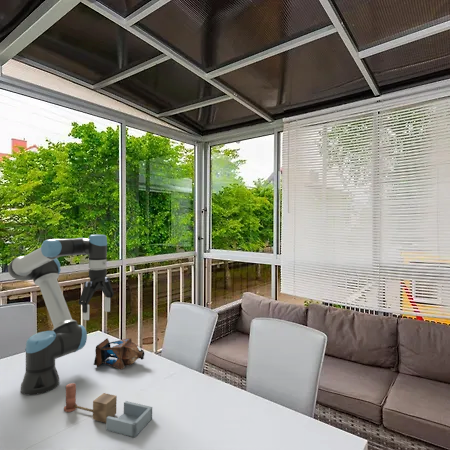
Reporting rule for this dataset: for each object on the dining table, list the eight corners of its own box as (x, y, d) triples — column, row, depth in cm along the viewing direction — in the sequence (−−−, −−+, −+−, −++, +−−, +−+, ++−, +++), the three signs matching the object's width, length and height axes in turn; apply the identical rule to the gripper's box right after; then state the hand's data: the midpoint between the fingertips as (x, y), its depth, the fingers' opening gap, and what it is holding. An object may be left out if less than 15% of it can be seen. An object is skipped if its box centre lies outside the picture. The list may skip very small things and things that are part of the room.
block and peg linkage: (59, 411, 124) (60, 388, 123) (71, 403, 129) (72, 380, 129) (105, 423, 117) (106, 398, 117) (116, 414, 122) (116, 390, 122)
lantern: (99, 375, 166) (144, 376, 163) (86, 360, 156) (134, 362, 152) (110, 346, 178) (152, 347, 175) (99, 331, 168) (143, 331, 164)
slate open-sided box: (106, 430, 113) (106, 417, 113) (125, 412, 124) (125, 400, 124) (134, 437, 110) (134, 425, 110) (152, 418, 120) (152, 407, 120)
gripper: (84, 273, 129) (83, 324, 129) (122, 265, 153) (121, 309, 153) (69, 272, 131) (68, 322, 131) (109, 264, 155) (108, 307, 155)
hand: (97, 315), depth 142 cm, fingers open, 13 cm apart
